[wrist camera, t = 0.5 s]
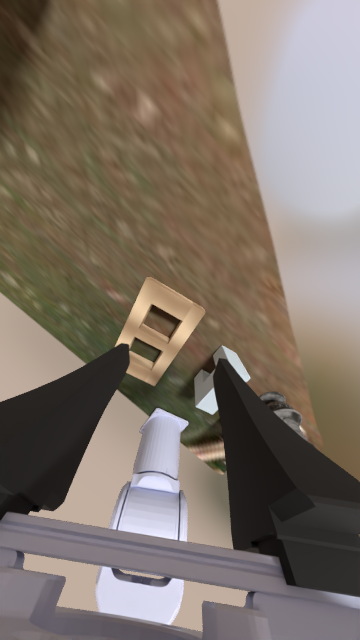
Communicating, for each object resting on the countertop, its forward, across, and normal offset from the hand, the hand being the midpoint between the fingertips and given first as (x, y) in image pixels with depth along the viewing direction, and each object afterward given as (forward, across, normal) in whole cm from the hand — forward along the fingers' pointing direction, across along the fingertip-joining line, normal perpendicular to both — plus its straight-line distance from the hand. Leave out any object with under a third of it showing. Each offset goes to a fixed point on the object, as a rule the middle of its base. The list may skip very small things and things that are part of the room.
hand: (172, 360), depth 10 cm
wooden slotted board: (+10, +4, +5) cm, 12 cm away
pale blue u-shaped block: (+10, -7, +9) cm, 15 cm away
